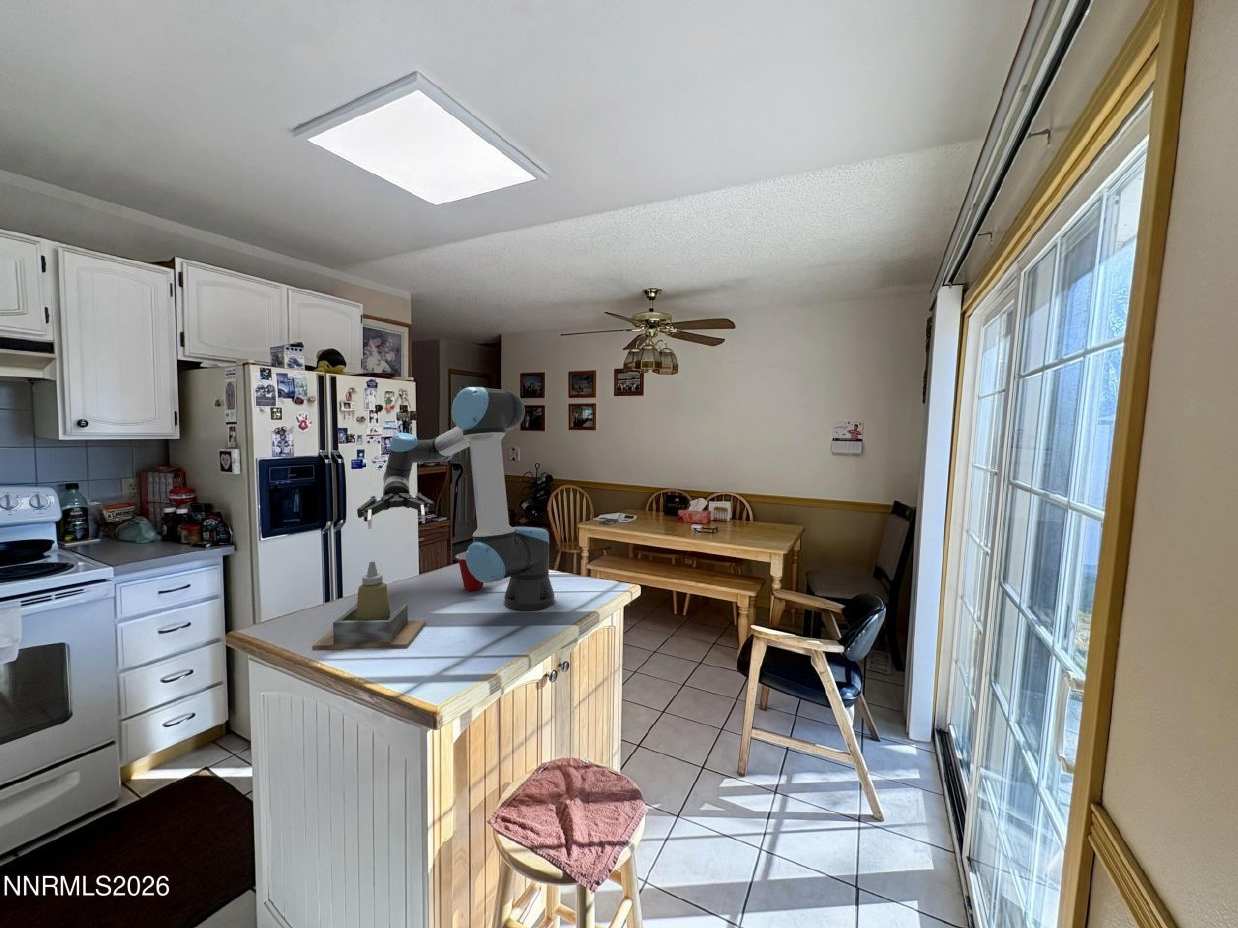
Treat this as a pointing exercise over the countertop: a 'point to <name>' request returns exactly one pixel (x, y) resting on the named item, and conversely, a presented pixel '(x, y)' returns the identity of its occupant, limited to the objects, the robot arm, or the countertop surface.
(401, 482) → the robot arm
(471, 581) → the plastic cup
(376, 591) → the squeeze bottle
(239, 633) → the countertop surface
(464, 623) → the countertop surface
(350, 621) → the u rest
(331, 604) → the countertop surface
